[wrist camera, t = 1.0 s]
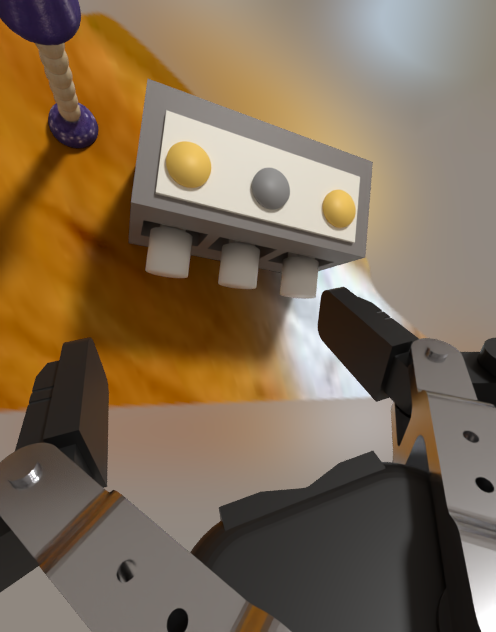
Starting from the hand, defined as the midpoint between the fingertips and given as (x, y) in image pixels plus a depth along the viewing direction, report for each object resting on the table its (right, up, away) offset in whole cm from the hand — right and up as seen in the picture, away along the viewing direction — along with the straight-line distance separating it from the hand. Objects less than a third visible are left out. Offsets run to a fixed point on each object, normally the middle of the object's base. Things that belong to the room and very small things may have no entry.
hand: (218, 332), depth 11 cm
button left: (-6, +7, +19) cm, 21 cm away
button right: (+6, +6, +23) cm, 25 cm away
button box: (-1, +11, +25) cm, 28 cm away
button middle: (0, +7, +21) cm, 22 cm away
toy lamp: (-16, +19, +20) cm, 32 cm away
